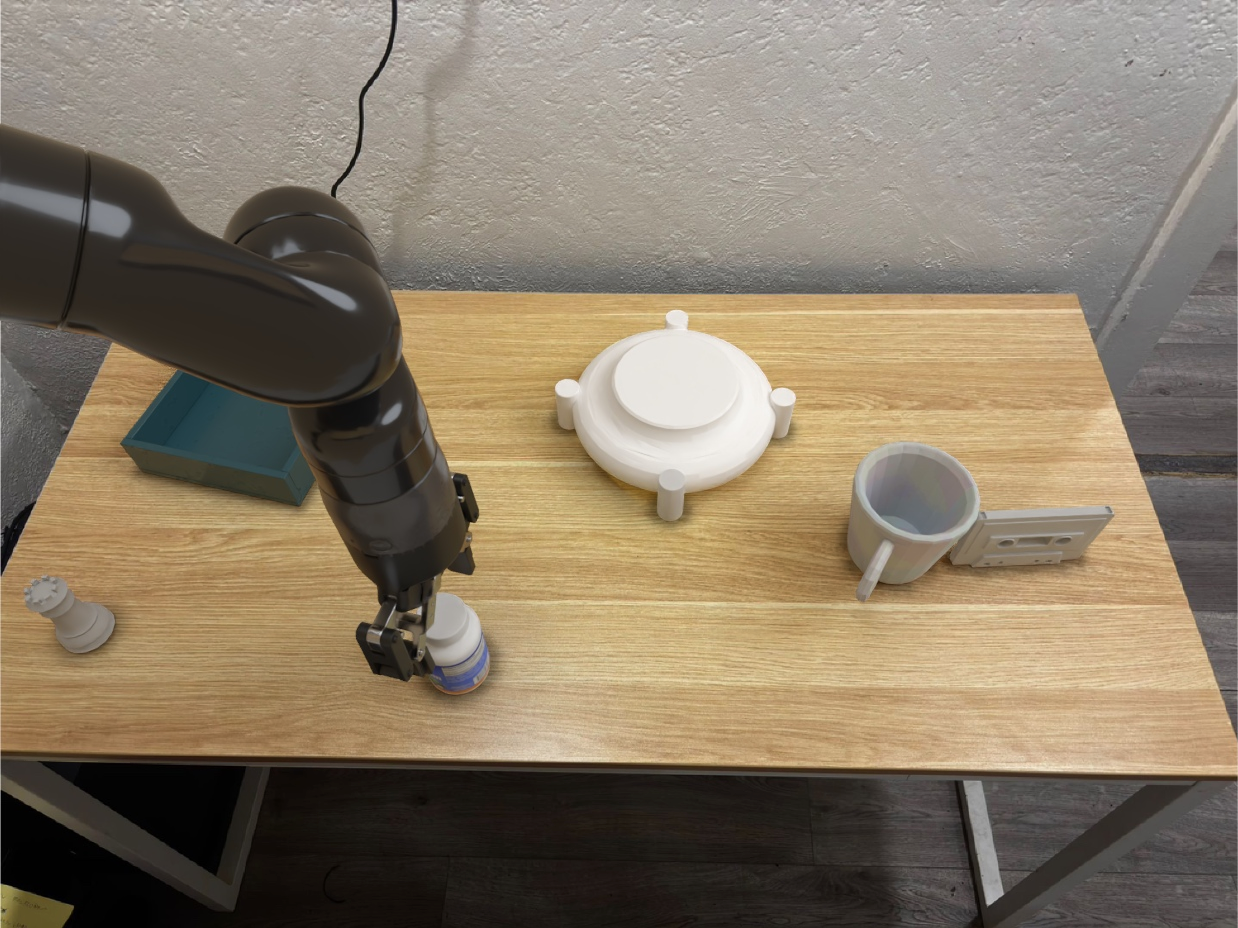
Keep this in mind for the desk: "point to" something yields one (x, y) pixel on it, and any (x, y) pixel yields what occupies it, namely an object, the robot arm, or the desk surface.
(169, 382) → the shallow teal tray
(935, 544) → the mug
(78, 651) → the rook chess piece
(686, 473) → the round stand with pegs
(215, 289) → the robot arm
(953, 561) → the cassette
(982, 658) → the desk surface
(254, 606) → the desk surface
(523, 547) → the desk surface
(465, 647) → the pill bottle
